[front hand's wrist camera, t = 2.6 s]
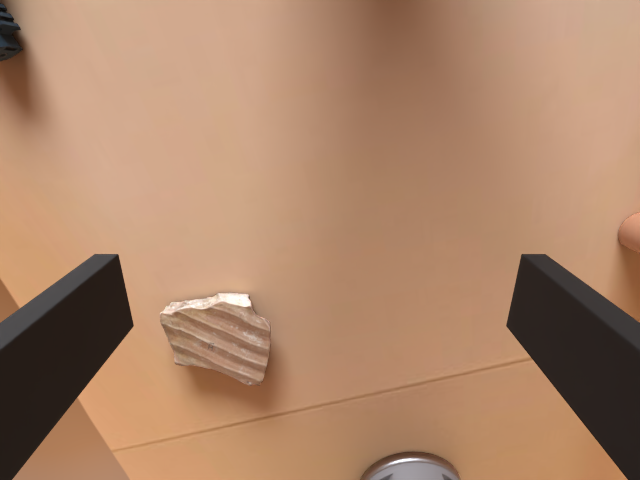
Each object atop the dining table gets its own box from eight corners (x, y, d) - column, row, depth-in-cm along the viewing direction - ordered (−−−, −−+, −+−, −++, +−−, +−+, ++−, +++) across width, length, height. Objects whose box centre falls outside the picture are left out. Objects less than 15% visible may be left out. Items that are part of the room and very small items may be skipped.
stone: (278, 299, 44) (276, 310, 42) (265, 378, 49) (262, 392, 46) (168, 280, 44) (159, 291, 41) (165, 362, 48) (156, 376, 46)
